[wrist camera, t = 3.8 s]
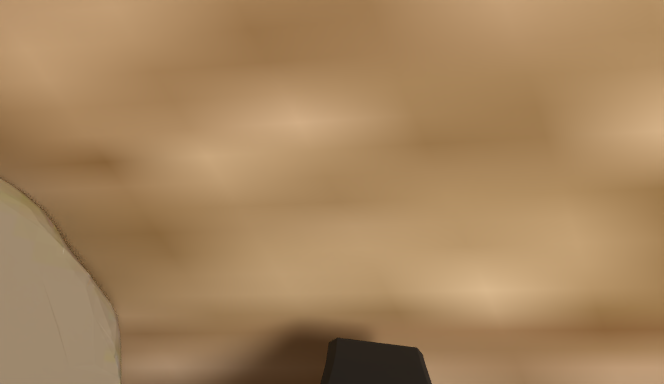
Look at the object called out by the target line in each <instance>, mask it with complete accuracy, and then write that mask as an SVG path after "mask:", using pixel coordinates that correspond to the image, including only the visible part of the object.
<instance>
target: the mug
mask: <svg viewBox="0 0 664 384" xmlns="http://www.w3.org/2000/svg"><path fill="white" fill-rule="evenodd" d="M0 384H121V344H120V331H119V324H118V318H117V314H116V313H115V311H114V309H113V307H112V305H111V304H110V302H109V300H108V299H107V297H106V296H105V295H104V293H103V292H102V291H101V289H100V288H99V287H98V285H97V284H96V283H95V282H94V280H93V279H92V278H91V276H90V275H89V273H88V272H87V271H86V270H85V269H84V267H83V266H82V265H81V263H80V262H79V261H78V259H77V258H76V257H75V255H74V254H73V253H72V252H71V250H70V249H69V248H68V246H67V245H66V243H65V242H64V240H63V238H62V237H61V235H60V234H59V232H58V230H57V229H56V227H55V226H54V224H53V223H52V221H51V220H50V219H49V218H48V216H47V215H46V214H45V212H44V211H43V210H42V209H41V208H40V207H39V206H38V205H37V204H36V203H34V202H33V201H32V200H31V199H30V198H29V197H27V196H26V195H25V194H24V193H23V192H22V191H20V190H19V189H17V188H15V187H14V186H12V185H11V184H9V183H7V182H6V181H4V180H3V179H1V178H0Z"/></svg>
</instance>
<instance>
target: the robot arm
mask: <svg viewBox="0 0 664 384" xmlns="http://www.w3.org/2000/svg"><path fill="white" fill-rule="evenodd" d="M321 384H432V383H431V380H430V377H429V374H428V371H427V368H426V365H425V361H424V358H423V354H422V353H421V352H420V351H419V350H418V348H415V347H407V346H399V345H391V344H383V343H375V342H367V341H359V340H351V339H343V338H336V339H334V340H332V341H331V342H329V346H328V353H327V360H326V365H325V369H324V373H323V377H322V380H321Z"/></svg>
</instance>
